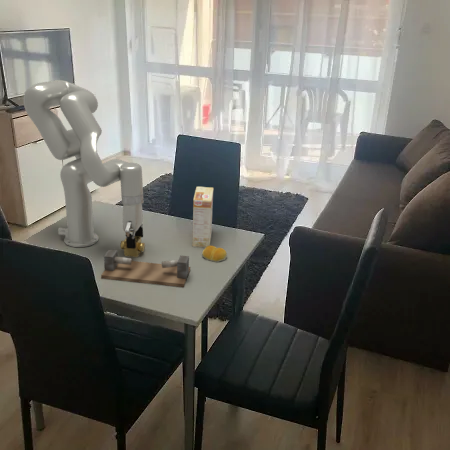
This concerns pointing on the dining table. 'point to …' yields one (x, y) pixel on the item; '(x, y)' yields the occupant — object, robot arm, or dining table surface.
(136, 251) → the brass coupler
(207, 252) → the bread roll
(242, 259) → the dining table surface
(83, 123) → the robot arm
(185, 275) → the base
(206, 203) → the coffeecake box
